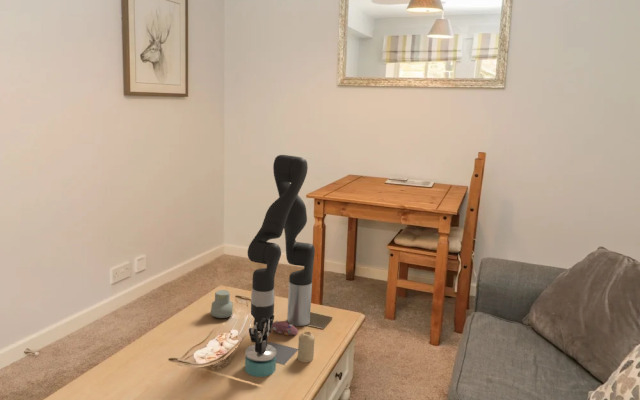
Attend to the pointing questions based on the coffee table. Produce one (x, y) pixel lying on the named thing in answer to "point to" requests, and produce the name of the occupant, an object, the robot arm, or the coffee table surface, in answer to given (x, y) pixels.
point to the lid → (265, 355)
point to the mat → (283, 352)
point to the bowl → (260, 367)
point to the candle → (306, 347)
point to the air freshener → (222, 305)
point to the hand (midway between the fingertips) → (261, 349)
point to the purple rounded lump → (284, 328)
